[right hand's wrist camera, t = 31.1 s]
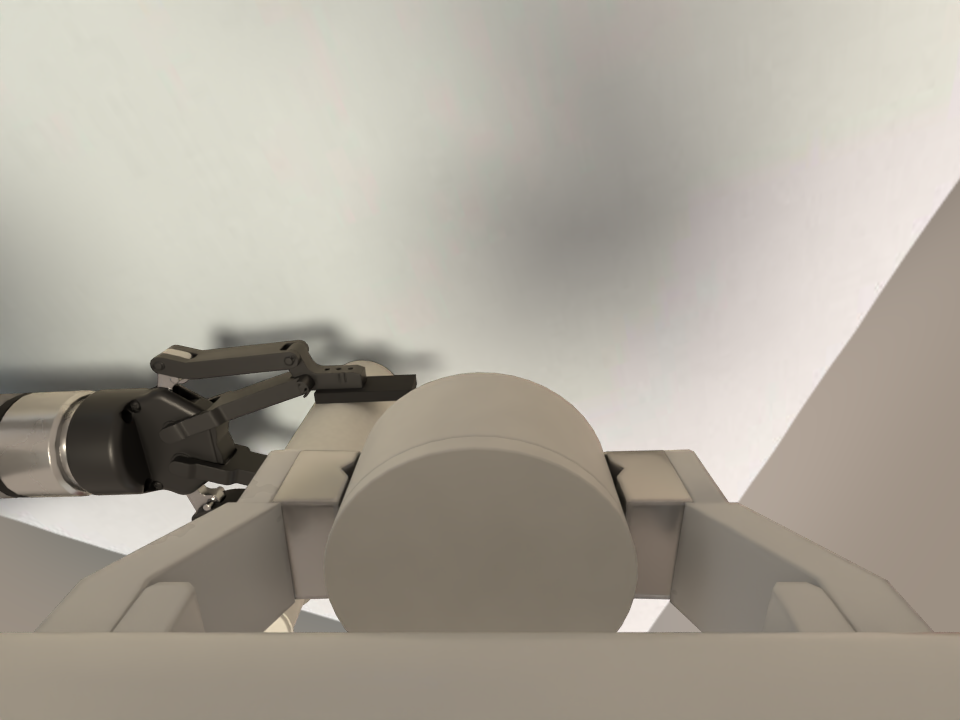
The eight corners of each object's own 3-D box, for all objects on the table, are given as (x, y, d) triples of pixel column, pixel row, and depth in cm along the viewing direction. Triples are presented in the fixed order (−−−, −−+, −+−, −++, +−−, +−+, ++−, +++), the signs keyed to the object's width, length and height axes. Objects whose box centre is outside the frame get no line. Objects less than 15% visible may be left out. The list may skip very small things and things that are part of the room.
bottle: (414, 382, 47) (346, 613, 24) (381, 439, 49) (289, 702, 26) (347, 346, 46) (209, 553, 23) (316, 406, 48) (160, 650, 25)
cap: (501, 318, 9) (504, 383, 7) (655, 499, 10) (699, 601, 8) (307, 468, 10) (257, 564, 8) (467, 614, 11) (462, 732, 9)
